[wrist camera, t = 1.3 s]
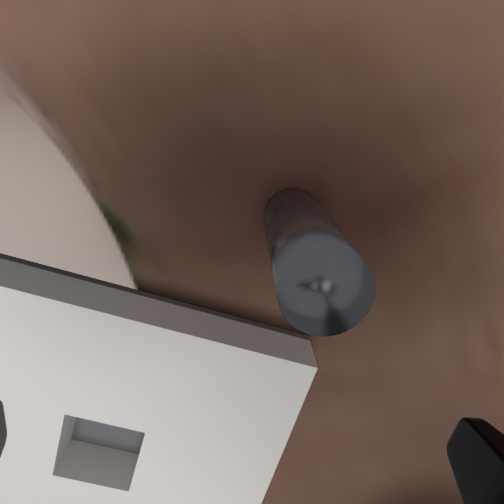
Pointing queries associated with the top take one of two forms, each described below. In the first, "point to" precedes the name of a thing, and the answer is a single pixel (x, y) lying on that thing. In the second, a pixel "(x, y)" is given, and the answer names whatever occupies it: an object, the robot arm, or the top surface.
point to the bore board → (138, 394)
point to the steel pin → (315, 267)
